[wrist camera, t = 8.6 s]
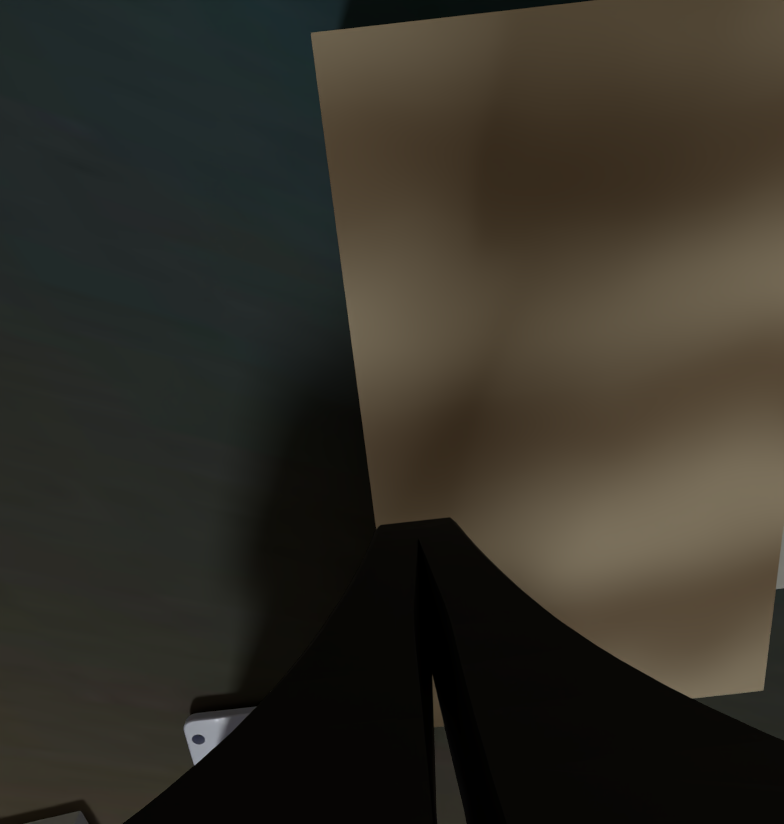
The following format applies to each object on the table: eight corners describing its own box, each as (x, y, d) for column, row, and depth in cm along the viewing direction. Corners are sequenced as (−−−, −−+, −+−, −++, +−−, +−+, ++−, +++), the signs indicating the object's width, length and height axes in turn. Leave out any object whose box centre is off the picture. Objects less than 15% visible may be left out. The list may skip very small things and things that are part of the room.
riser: (695, 612, 22) (763, 690, 18) (397, 645, 22) (402, 730, 18) (737, 34, 16) (851, -30, 12) (325, 81, 16) (310, 32, 12)
